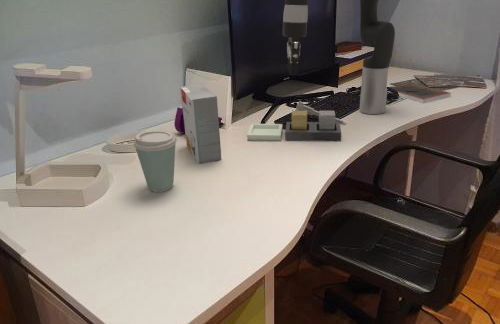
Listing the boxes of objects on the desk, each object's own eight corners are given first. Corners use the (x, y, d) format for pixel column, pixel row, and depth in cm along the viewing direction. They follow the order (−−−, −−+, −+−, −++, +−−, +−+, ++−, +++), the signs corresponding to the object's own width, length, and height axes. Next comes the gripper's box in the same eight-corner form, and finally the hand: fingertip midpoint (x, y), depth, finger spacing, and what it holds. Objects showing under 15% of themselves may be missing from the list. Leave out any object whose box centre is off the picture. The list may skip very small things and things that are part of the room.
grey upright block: (333, 133, 141) (334, 110, 138) (334, 138, 137) (335, 115, 133) (318, 133, 142) (319, 110, 139) (318, 138, 137) (319, 115, 134)
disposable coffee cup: (165, 174, 117) (158, 124, 111) (190, 185, 110) (184, 132, 104) (133, 188, 110) (123, 135, 103) (158, 201, 103) (150, 145, 97)
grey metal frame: (338, 130, 143) (339, 122, 142) (340, 141, 134) (341, 132, 133) (286, 130, 146) (286, 121, 144) (285, 140, 137) (285, 132, 135)
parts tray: (282, 129, 146) (282, 124, 145) (280, 141, 136) (280, 135, 135) (251, 129, 148) (251, 123, 147) (247, 140, 138) (247, 135, 137)
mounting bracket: (205, 137, 159) (172, 131, 143) (209, 115, 158) (177, 107, 143) (224, 142, 153) (192, 136, 138) (229, 119, 153) (197, 111, 138)
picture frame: (383, 93, 185) (422, 104, 168) (384, 87, 184) (423, 98, 167) (409, 87, 192) (450, 98, 175) (410, 82, 191) (451, 92, 174)
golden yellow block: (306, 132, 142) (307, 110, 139) (306, 138, 138) (307, 115, 135) (292, 132, 143) (292, 110, 140) (291, 138, 139) (291, 115, 135)
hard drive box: (186, 146, 135) (179, 86, 127) (208, 142, 138) (203, 83, 129) (197, 164, 122) (191, 98, 114) (222, 160, 124) (218, 95, 116)
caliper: (295, 116, 159) (295, 101, 156) (297, 116, 160) (297, 100, 157) (345, 125, 148) (346, 108, 145) (346, 124, 149) (347, 108, 146)
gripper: (310, 22, 123) (306, 77, 129) (304, 19, 136) (301, 69, 142) (284, 21, 123) (282, 76, 129) (281, 18, 136) (279, 68, 142)
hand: (292, 72), depth 136 cm, fingers open, 8 cm apart
